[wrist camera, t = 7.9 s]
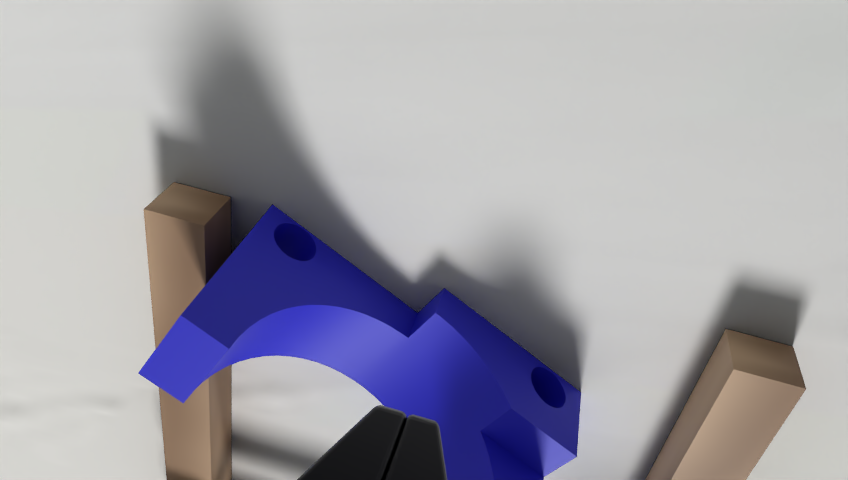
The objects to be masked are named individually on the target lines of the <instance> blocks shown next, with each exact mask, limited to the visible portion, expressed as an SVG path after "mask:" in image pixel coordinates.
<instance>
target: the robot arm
mask: <svg viewBox="0 0 848 480" xmlns="http://www.w3.org/2000/svg"><path fill="white" fill-rule="evenodd" d="M297 480H447V475H446V468H445V461H444V455H443V448H442V441H441V434H440V428H439V425H438V423H437V422H436V421H434V420H431V419H427V418H424V417H420V416H417V415H409V416H408V417H407V416H406V414H405V413H404V412H403V411H400V410H396V409H393V408H389V407H386V406H381V405H379V406H376V407H375V408H373V409H372V410H371V411H370V412H369V413H368V414H367V415H366V416H365V417H363V418H362V419H361V420H360V421H359V422H358V423H357V424H356V425H355V426H354V427H353V428H352V429H351V430H350V431H349V432H347V433H346V434H345V435H344V436H343V437H342V438H341V439H340V440H339V441H338V442H337V443H336V444H335V445H334V446H333V447H331V448H330V449H329V450H328V451H327V452H326V453H325V454H324V455H323V456H322V457H321V458H320V459H319V460H318V461H317V462H315V463H314V464H313V465H312V466H311V467H310V468H309V469H308V470H307V471H306V472H305V473H304V474H303V475H302V476H301V477H299V478H298V479H297Z"/></svg>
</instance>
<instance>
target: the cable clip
mask: <svg viewBox="0 0 848 480" xmlns="http://www.w3.org/2000/svg"><path fill="white" fill-rule="evenodd" d="M275 355H279V356H292V357H298V358H304V359H308V360H311V361H315V362H318V363H321V364H323V365H326V366H329V367H331V368H333V369H335V370H337V371H339V372H341V373H343V374H344V375H346V376H348V377H350V378H351V379H353V380H354V381H356V382H357V383H359V384H360V385H361V386H363V387H364V388H365V389H366V390H368V391H369V392H370V393H371V394H372V395H374V396H375V397H376V398H377V399H378V400H379V401H380V402H381V403H382V404H383V405H384V406H386V407H389V408H393V409H396V410H400V411H403V412H404V413H405V414H406V416H407V417H408V416H409V415H417V416H420V417H424V418H427V419H431V420H434V421H436V422H437V423H438V425H439V428H440V434H441V441H442V448H443V455H444V461H445V468H446V475H447V480H543V479H544V476H546V475H548V474H549V473H551V472H553V471H554V470H556V469H558V468H559V467H561V466H562V465H564V464H566V463H567V462H569V461H571V460H572V459H574V458H576V457H577V444H578V429H579V414H580V399H581V392H580V391H579V390H577V389H576V388H575V387H573V386H572V385H571V384H569V383H568V382H567V381H565V380H564V379H563V378H562V377H560V376H559V375H558V374H556V373H555V372H554V371H552V370H551V369H550V368H548V367H547V366H546V365H544V364H543V363H542V362H541V361H539V360H538V359H537V358H535V357H534V356H533V355H531V354H530V353H529V352H527V351H526V350H525V349H523V348H522V347H521V346H520V345H518V344H517V343H516V342H514V341H513V340H512V339H510V338H509V337H508V336H506V335H505V334H504V333H503V332H501V331H500V330H499V329H497V328H496V327H495V326H493V325H492V324H491V323H489V322H488V321H487V320H485V319H484V318H483V317H482V316H480V315H479V314H478V313H476V312H475V311H474V310H472V309H471V308H470V307H468V306H467V305H466V304H464V303H463V302H462V301H461V300H459V299H458V298H457V297H455V296H454V295H453V294H451V293H450V292H449V291H447V290H446V289H445V288H444V289H443V290H442V291H441V292H440V293H439V294H438V295H437V296H435V297H434V298H433V299H432V300H431V301H430V302H429V303H428V304H427V305H426V306H425V307H424V308H423V309H422V310H421V311H419V312H418V313H417V312H416V311H414V310H413V309H412V308H410V307H409V306H408V305H406V304H405V303H404V302H402V301H401V300H400V299H398V298H397V297H396V296H394V295H393V294H392V293H390V292H389V291H388V290H386V289H385V288H384V287H382V286H381V285H380V284H378V283H377V282H375V281H374V280H373V279H371V278H370V277H369V276H367V275H366V274H365V273H363V272H362V271H361V270H359V269H358V268H357V267H355V266H354V265H353V264H351V263H350V262H349V261H347V260H346V259H345V258H343V257H342V256H341V255H339V254H338V253H337V252H335V251H334V250H333V249H331V248H330V247H329V246H327V245H326V244H325V243H323V242H322V241H321V240H319V239H318V238H317V237H315V236H314V235H313V234H311V233H310V232H309V231H307V230H306V229H305V228H303V227H302V226H301V225H299V224H298V223H297V222H295V221H294V220H293V219H291V218H290V217H289V216H287V215H286V214H285V213H283V212H282V211H281V210H279V209H278V208H277V207H275V206H274V205H273V204H272V206H271V207H270V208H269V209H268V211H267V212H266V213H265V214H264V215H263V217H262V218H261V219H260V220H259V221H258V223H257V224H256V225H255V226H254V227H253V229H252V230H251V231H250V232H249V233H248V235H247V236H246V237H245V238H244V239H243V241H242V242H241V243H240V244H239V245H238V247H237V248H236V249H235V250H234V251H233V253H232V254H231V255H230V256H229V257H228V259H227V260H226V261H225V262H224V264H223V265H222V266H221V267H220V268H219V270H218V271H217V272H216V273H215V274H214V276H213V277H212V278H211V279H210V280H209V282H208V283H207V284H206V285H205V286H204V288H203V289H202V290H201V291H200V292H199V294H198V295H197V296H196V297H195V298H194V300H193V301H192V302H191V303H190V304H189V306H188V307H187V308H186V309H185V311H184V312H183V313H182V314H181V315H180V317H179V318H178V319H177V321H176V322H175V324H174V325H173V326H172V328H171V329H170V330H169V332H168V333H167V335H166V336H165V337H164V339H163V340H162V341H161V343H160V344H159V346H158V347H157V348H156V350H155V351H154V352H153V354H152V355H151V356H150V358H149V359H148V361H147V362H146V363H145V365H144V366H143V367H142V369H141V370H140V372H139V374H140V375H142V376H143V377H145V378H146V379H148V380H149V381H151V382H152V383H154V384H155V385H157V386H158V387H160V388H161V389H163V390H164V391H166V392H167V393H169V394H170V395H171V396H173V397H174V398H176V399H177V400H179V401H180V402H182V403H184V402H185V401H186V400H187V399H188V397H189V396H190V395H191V394H192V393H193V391H194V390H195V389H196V388H197V387H198V386H199V385H200V384H201V383H202V382H204V381H205V380H206V379H208V378H209V377H210V376H212V375H213V374H214V373H216V372H218V371H220V370H221V369H223V368H225V367H227V366H229V365H232V364H234V363H236V362H239V361H243V360H246V359H250V358H255V357H261V356H275Z"/></svg>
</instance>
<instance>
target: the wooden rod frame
mask: <svg viewBox="0 0 848 480" xmlns="http://www.w3.org/2000/svg"><path fill="white" fill-rule="evenodd" d="M144 218H145V230H146V242H147V254H148V265H149V277H150V289H151V300H152V312H153V324H154V335H155V347H156V348H157V347H158V346H159V344H160V343H161V341H162V340H163V339H164V337H165V336H166V335H167V333H168V332H169V330H170V329H171V328H172V326H173V325H174V324H175V322H176V321H177V319H178V318H179V317H180V315H181V314H182V313H183V312H184V311H185V309H186V308H187V307H188V306H189V304H190V303H191V302H192V301H193V300H194V298H195V297H196V296H197V295H198V294H199V292H200V291H201V290H202V289H203V288H204V286H205V285H206V284H207V283H208V282H209V280H210V279H211V278H212V277H213V276H214V274H215V273H216V272H217V271H218V270H219V268H220V267H221V266H222V265H223V264H224V262H225V261H226V260H227V259H228V257H229V256H230V255H231V197H228V196H224V195H220V194H217V193H213V192H209V191H205V190H201V189H198V188H194V187H190V186H186V185H183V184H179V183H175V182H174V183H173V184H171V185H170V186H169V187H168V188H167V189H166V190H165V191H164V192H162V193H161V194H160V195H159V196H158V197H157V198H156V199H155V200H153V201H152V202H151V203H150V204H149V205H148V206H147V207H146V208H145V209H144ZM805 390H806V387H805V384H804V380H803V377H802V374H801V371H800V367H799V364H798V361H797V358H796V354H795V351H794V348H793V347H792V346H789V345H785V344H781V343H777V342H774V341H770V340H766V339H762V338H758V337H755V336H751V335H747V334H743V333H740V332H736V331H732V330H728V329H725V331H724V333H723V335H722V337H721V339H720V341H719V343H718V344H717V346H716V348H715V350H714V352H713V354H712V356H711V358H710V359H709V361H708V363H707V365H706V367H705V369H704V371H703V373H702V374H701V376H700V378H699V380H698V382H697V384H696V386H695V387H694V389H693V391H692V393H691V395H690V397H689V399H688V401H687V402H686V404H685V406H684V408H683V410H682V412H681V414H680V416H679V417H678V419H677V421H676V423H675V425H674V427H673V429H672V431H671V432H670V434H669V436H668V438H667V440H666V442H665V444H664V446H663V447H662V449H661V451H660V453H659V455H658V457H657V459H656V461H655V462H654V464H653V466H652V468H651V470H650V472H649V474H648V476H647V477H646V479H645V480H746V479H747V477H748V476H749V474H750V473H751V471H752V470H753V468H754V467H755V465H756V464H757V462H758V461H759V459H760V458H761V456H762V455H763V453H764V452H765V450H766V449H767V447H768V446H769V444H770V443H771V441H772V440H773V438H774V437H775V435H776V433H777V432H778V430H779V429H780V427H781V426H782V424H783V423H784V421H785V420H786V418H787V417H788V415H789V414H790V412H791V411H792V409H793V408H794V406H795V405H796V403H797V402H798V400H799V399H800V397H801V396H802V394H803V393H804V391H805ZM159 394H160V406H161V417H162V429H163V441H164V453H165V464H166V476H167V480H231V365H229V366H227V367H225V368H223V369H221V370H220V371H218V372H216V373H214V374H213V375H212V376H210V377H209V378H208V379H206V380H205V381H204V382H202V383H201V384H200V385H199V386H198V387H197V388H196V389H195V390H194V391H193V393H192V394H191V395H190V396H189V397H188V399H187V400H186V401H185V402H184V403H182V402H180V401H179V400H177V399H176V398H174V397H173V396H171V395H170V394H169V393H167V392H166V391H164V390H163V389H161V388H160V387H159Z"/></svg>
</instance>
